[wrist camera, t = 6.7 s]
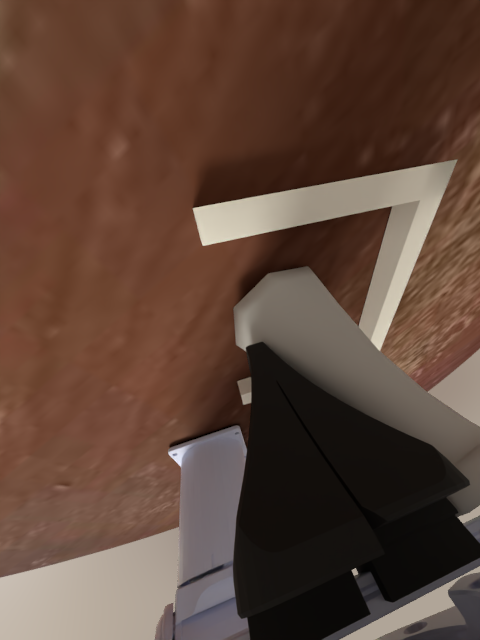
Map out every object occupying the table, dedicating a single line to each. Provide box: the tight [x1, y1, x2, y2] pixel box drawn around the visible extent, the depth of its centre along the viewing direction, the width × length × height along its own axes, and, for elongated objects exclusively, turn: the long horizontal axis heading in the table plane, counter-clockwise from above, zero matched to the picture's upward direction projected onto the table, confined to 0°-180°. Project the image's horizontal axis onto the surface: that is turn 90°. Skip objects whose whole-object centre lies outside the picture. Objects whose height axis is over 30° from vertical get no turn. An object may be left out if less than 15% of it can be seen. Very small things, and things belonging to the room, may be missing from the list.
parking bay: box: [193, 159, 458, 405], centre depth 13 cm, size 15×14×2 cm
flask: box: [233, 266, 480, 517], centre depth 9 cm, size 7×7×10 cm
